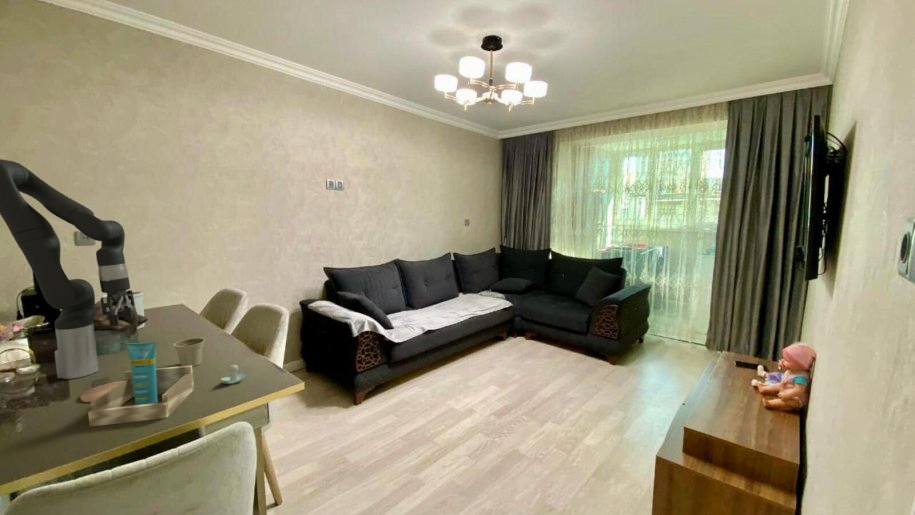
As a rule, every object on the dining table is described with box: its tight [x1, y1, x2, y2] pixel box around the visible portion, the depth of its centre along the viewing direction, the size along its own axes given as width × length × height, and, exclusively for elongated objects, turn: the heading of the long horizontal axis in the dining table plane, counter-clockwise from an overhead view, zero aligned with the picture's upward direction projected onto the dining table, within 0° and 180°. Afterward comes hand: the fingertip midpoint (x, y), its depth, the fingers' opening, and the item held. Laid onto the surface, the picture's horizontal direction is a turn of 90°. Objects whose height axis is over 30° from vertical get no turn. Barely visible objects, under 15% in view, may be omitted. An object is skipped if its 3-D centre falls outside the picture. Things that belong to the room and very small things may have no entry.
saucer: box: [80, 380, 122, 403], centre depth 117 cm, size 13×13×1 cm
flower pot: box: [173, 337, 206, 367], centre depth 138 cm, size 9×9×9 cm
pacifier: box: [220, 364, 247, 385], centre depth 124 cm, size 7×6×6 cm
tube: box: [126, 341, 159, 405], centre depth 107 cm, size 7×5×19 cm, turn 103°
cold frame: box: [88, 365, 195, 427], centre depth 108 cm, size 17×17×8 cm
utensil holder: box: [101, 290, 146, 330], centre depth 181 cm, size 15×15×18 cm
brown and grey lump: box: [93, 299, 148, 357], centre depth 154 cm, size 23×25×22 cm
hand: (122, 322), depth 131 cm, fingers open, 8 cm apart
